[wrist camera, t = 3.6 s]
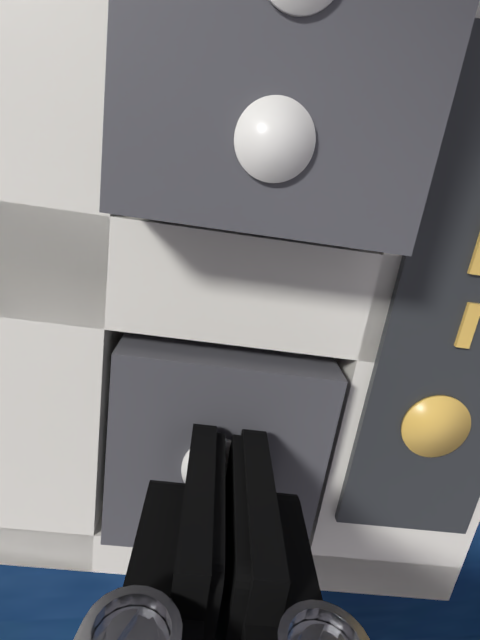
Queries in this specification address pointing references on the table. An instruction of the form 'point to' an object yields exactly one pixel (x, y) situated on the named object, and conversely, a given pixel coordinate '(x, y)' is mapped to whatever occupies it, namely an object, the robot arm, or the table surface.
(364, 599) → the table surface
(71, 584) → the table surface
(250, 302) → the keypad
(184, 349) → the dot key
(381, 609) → the table surface
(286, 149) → the pair key
